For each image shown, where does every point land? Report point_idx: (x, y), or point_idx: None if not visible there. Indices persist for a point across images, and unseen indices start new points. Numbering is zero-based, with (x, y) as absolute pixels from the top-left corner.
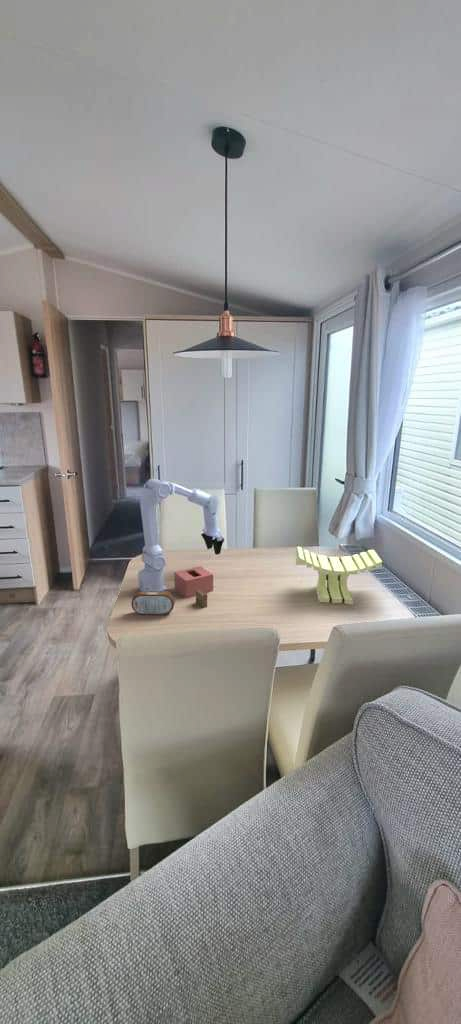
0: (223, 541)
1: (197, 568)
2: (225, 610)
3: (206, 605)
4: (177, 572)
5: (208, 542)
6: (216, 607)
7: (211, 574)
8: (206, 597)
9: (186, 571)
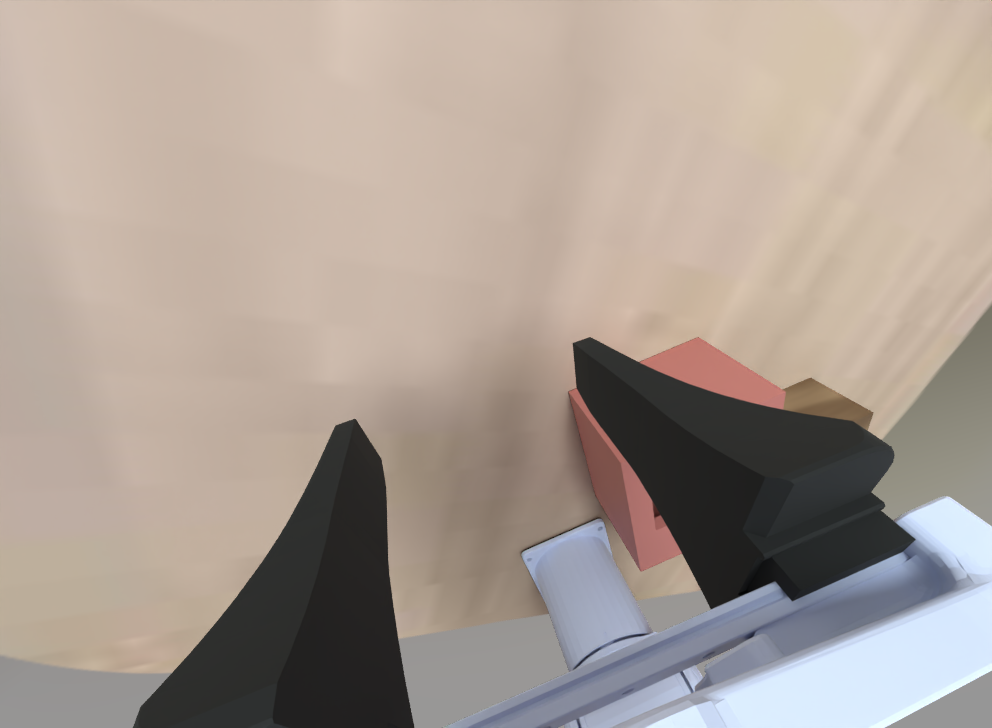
0: (822, 420)
1: None
2: (886, 308)
3: (816, 383)
4: (651, 560)
5: (372, 537)
6: (841, 342)
7: (779, 401)
8: (855, 406)
9: (653, 525)
